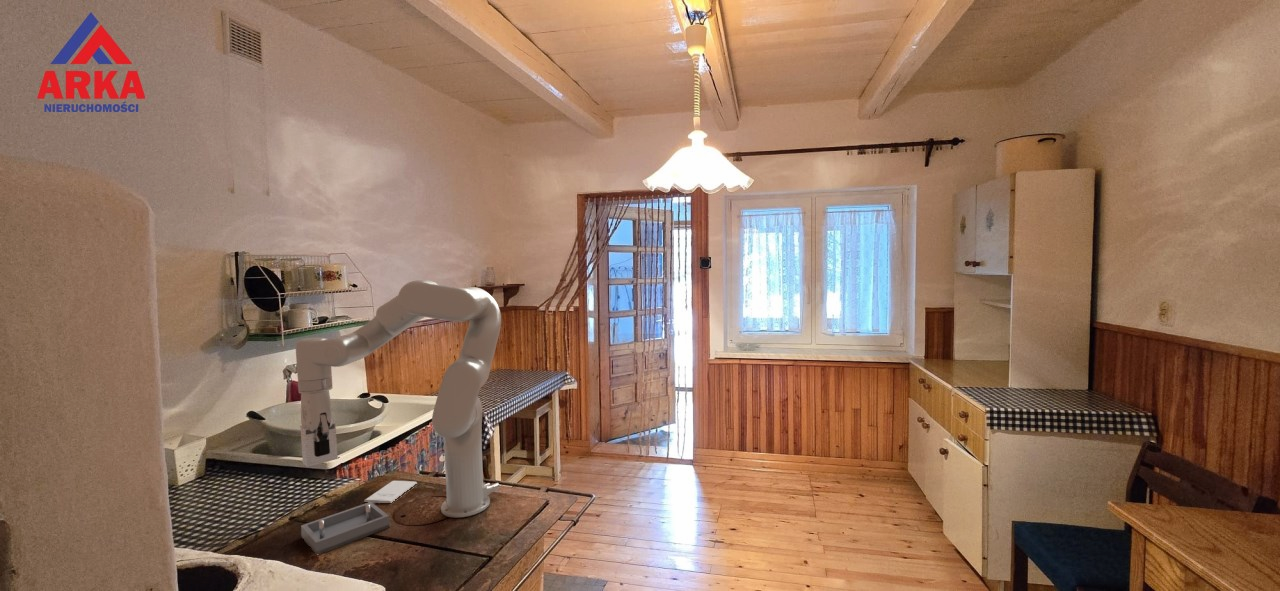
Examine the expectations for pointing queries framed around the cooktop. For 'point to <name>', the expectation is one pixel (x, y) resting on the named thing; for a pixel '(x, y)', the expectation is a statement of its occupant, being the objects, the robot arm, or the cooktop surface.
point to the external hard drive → (390, 492)
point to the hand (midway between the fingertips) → (319, 452)
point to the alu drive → (309, 446)
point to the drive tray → (344, 527)
